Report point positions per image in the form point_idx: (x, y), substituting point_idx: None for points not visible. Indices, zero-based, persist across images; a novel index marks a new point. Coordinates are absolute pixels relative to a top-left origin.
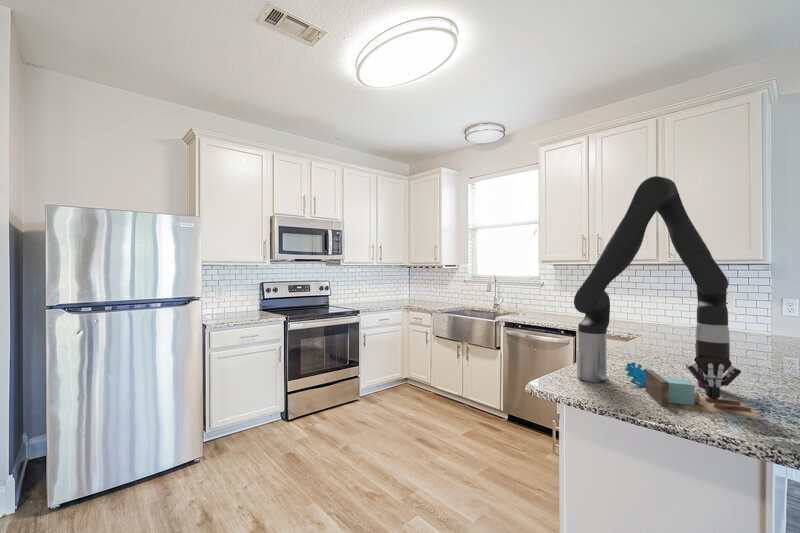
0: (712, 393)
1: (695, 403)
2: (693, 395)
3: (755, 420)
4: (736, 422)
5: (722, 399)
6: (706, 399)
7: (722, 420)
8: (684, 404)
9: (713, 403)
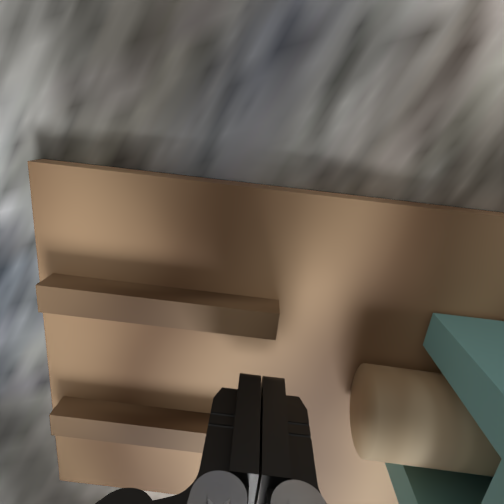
0: (279, 416)
1: None
2: (484, 366)
3: (95, 138)
4: (279, 41)
5: (156, 434)
6: None
7: (372, 65)
8: None
9: None
